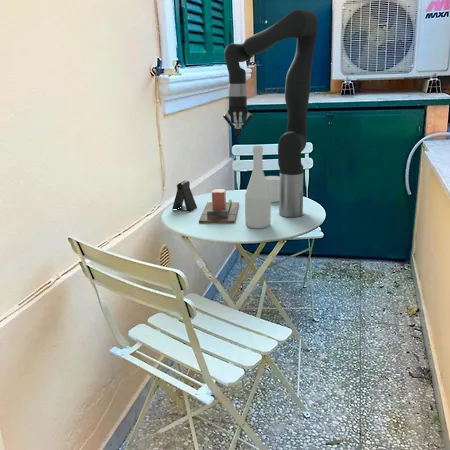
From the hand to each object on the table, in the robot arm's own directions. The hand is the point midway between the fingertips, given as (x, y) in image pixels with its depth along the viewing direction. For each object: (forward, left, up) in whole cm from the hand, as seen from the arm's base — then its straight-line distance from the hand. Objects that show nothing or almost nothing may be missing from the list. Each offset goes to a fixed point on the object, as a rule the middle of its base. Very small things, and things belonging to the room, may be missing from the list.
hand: (238, 137), depth 190 cm
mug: (-13, -4, -29) cm, 32 cm away
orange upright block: (+7, +20, -28) cm, 35 cm away
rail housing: (+7, +17, -29) cm, 34 cm away
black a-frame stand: (+23, +11, -29) cm, 39 cm away
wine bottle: (-9, +32, -29) cm, 44 cm away
